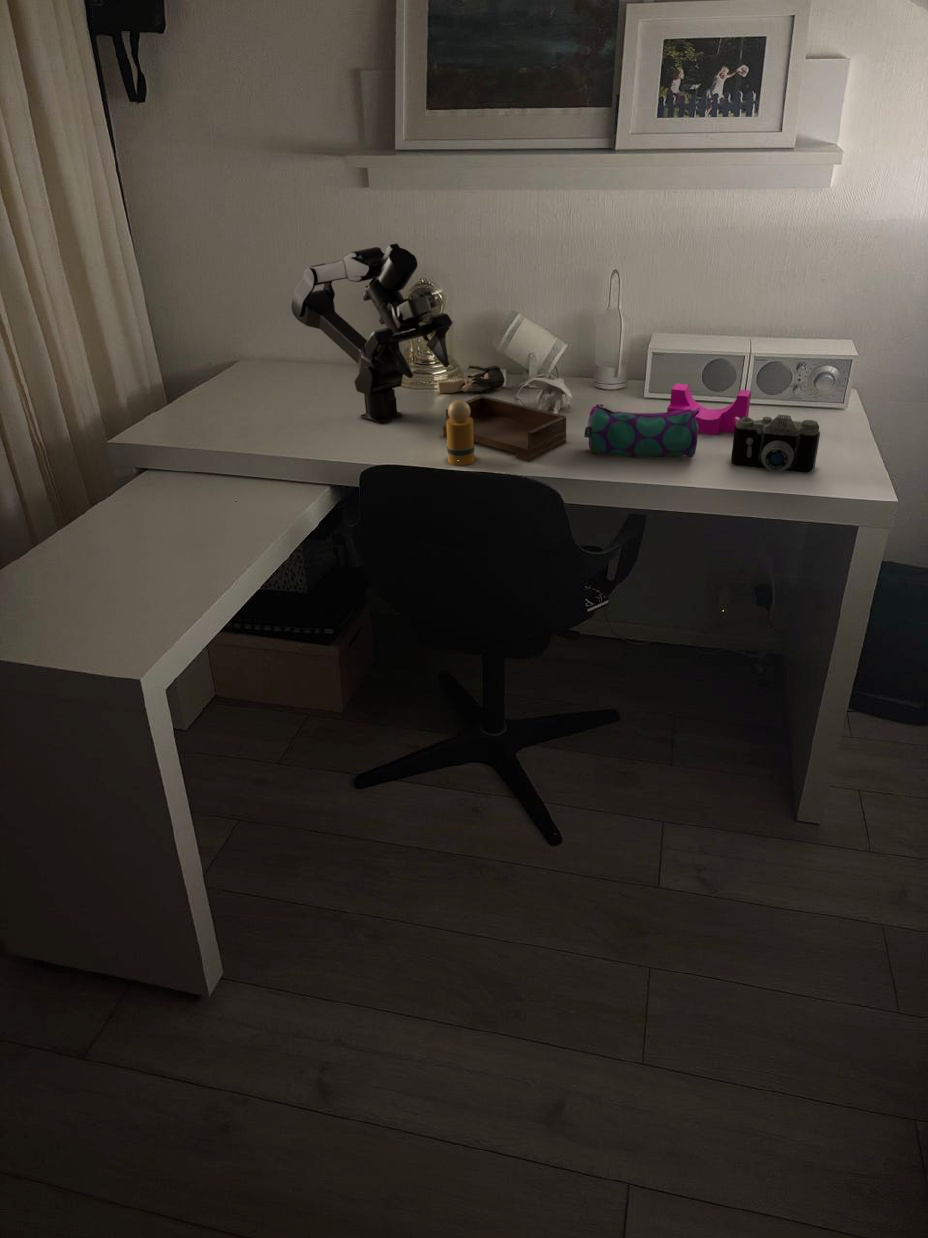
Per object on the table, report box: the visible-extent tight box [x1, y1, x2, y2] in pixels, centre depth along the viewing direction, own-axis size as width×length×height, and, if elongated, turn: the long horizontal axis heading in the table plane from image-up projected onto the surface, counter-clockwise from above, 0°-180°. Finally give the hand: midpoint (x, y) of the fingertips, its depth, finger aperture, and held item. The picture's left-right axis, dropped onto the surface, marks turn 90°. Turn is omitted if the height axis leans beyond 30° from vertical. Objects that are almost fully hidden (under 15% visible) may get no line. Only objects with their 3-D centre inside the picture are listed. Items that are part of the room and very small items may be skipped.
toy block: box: [666, 383, 752, 436], centre depth 194 cm, size 15×6×8 cm, turn 66°
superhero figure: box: [524, 377, 573, 414], centre depth 206 cm, size 10×9×20 cm
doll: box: [445, 399, 475, 466], centre depth 183 cm, size 5×5×12 cm
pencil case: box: [583, 403, 700, 459], centre depth 183 cm, size 21×9×10 cm, turn 78°
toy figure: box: [436, 364, 506, 395], centre depth 220 cm, size 7×6×15 cm
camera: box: [730, 414, 821, 474], centre depth 175 cm, size 15×7×10 cm, turn 69°
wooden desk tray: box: [442, 394, 568, 463], centre depth 193 cm, size 22×12×6 cm, turn 48°
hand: (429, 371), depth 190 cm, fingers open, 9 cm apart
